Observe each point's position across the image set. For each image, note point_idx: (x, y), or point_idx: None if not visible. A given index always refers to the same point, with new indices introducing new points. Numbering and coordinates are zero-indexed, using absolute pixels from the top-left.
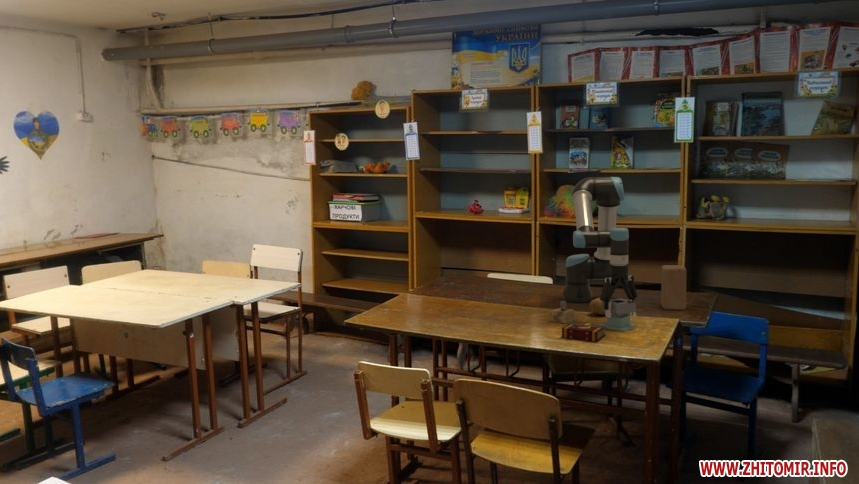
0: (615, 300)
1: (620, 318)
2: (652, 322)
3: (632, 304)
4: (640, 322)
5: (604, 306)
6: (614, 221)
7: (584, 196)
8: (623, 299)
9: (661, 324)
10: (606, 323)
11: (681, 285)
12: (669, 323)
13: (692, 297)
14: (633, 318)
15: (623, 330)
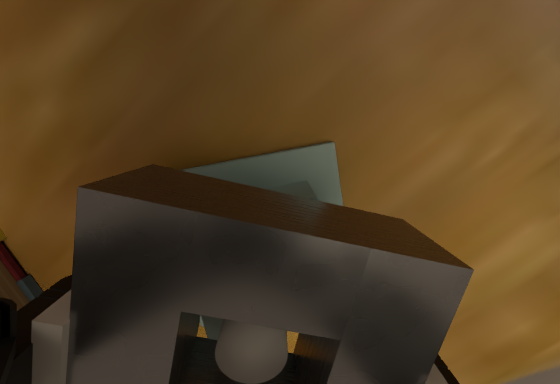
0: (261, 325)
1: (206, 331)
2: (502, 283)
3: None
4: (456, 242)
5: (43, 297)
6: None
7: None
8: (410, 348)
9: (491, 336)
10: (226, 169)
11: None
12: (539, 347)
13: None
14: (525, 146)
15: (202, 321)
